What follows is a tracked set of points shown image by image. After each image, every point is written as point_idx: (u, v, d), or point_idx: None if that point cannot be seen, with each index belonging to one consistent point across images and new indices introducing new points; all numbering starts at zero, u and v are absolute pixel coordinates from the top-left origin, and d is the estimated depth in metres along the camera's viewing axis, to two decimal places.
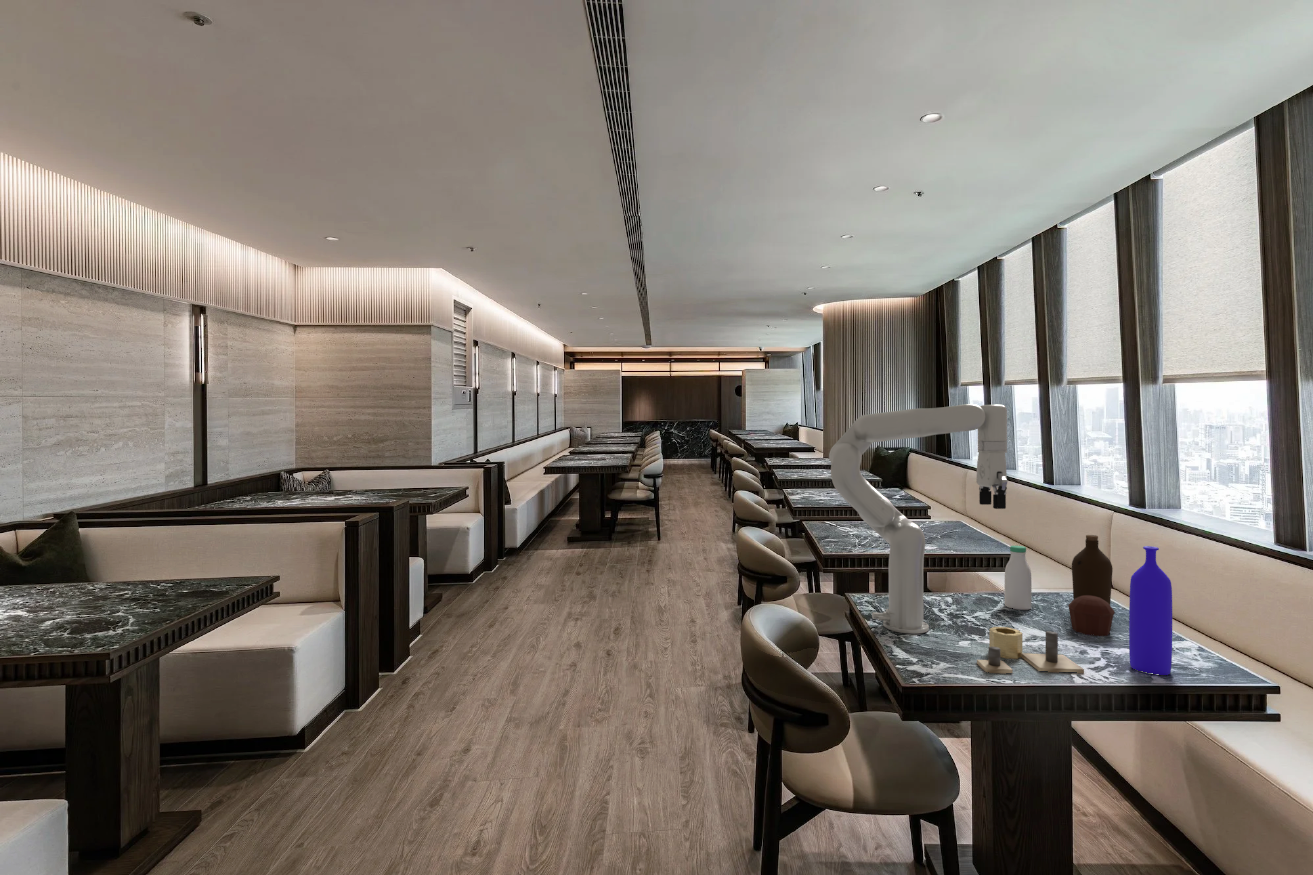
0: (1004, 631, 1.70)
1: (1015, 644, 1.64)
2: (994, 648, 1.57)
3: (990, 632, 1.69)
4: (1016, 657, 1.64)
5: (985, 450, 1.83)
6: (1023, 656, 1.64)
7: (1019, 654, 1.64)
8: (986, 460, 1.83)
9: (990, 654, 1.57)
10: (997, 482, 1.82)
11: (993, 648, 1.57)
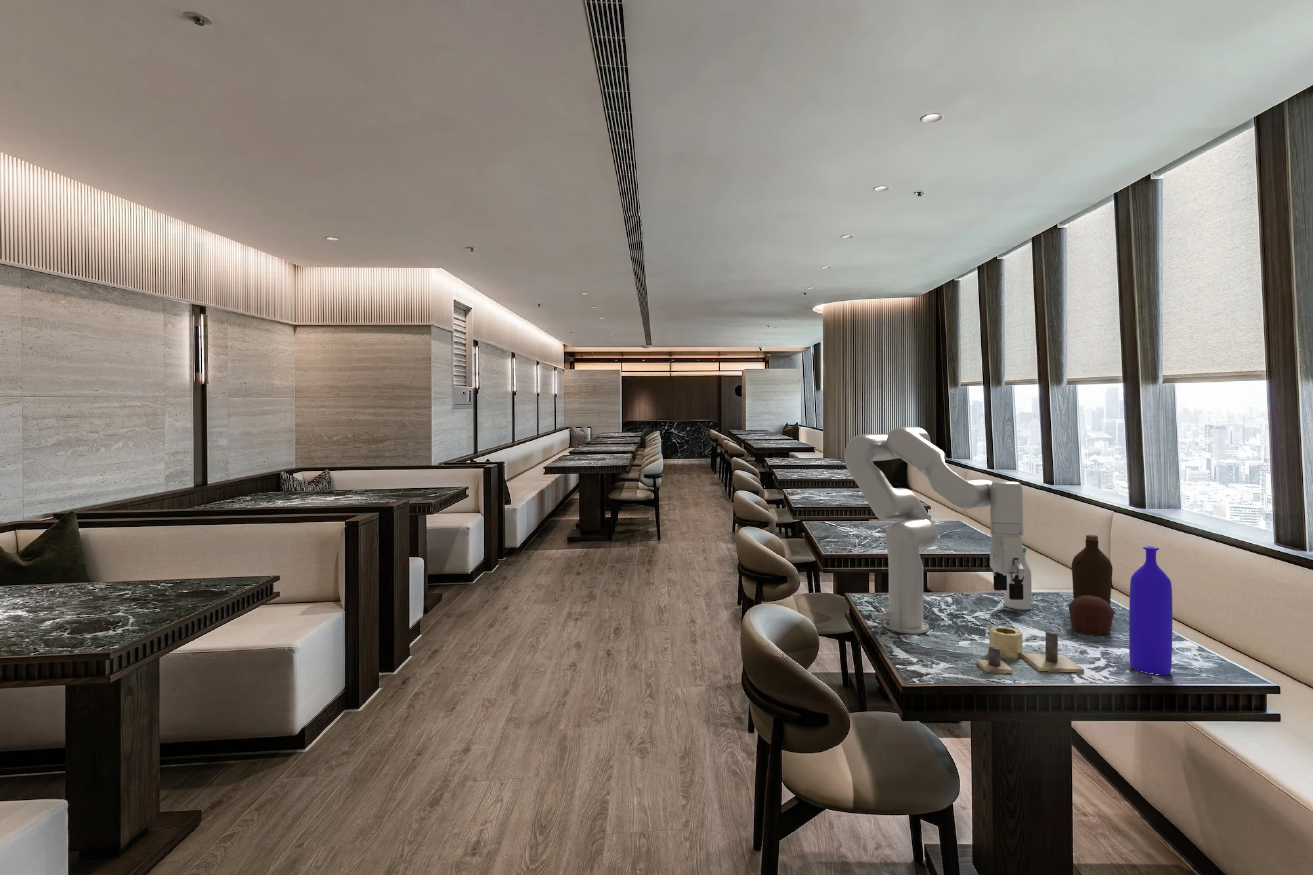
0: (1004, 631, 1.70)
1: (1015, 644, 1.64)
2: (994, 648, 1.57)
3: (990, 632, 1.69)
4: (1016, 657, 1.64)
5: (998, 533, 1.65)
6: (1023, 656, 1.64)
7: (1019, 654, 1.64)
8: (1000, 544, 1.64)
9: (990, 654, 1.57)
10: (1013, 569, 1.63)
11: (993, 648, 1.57)
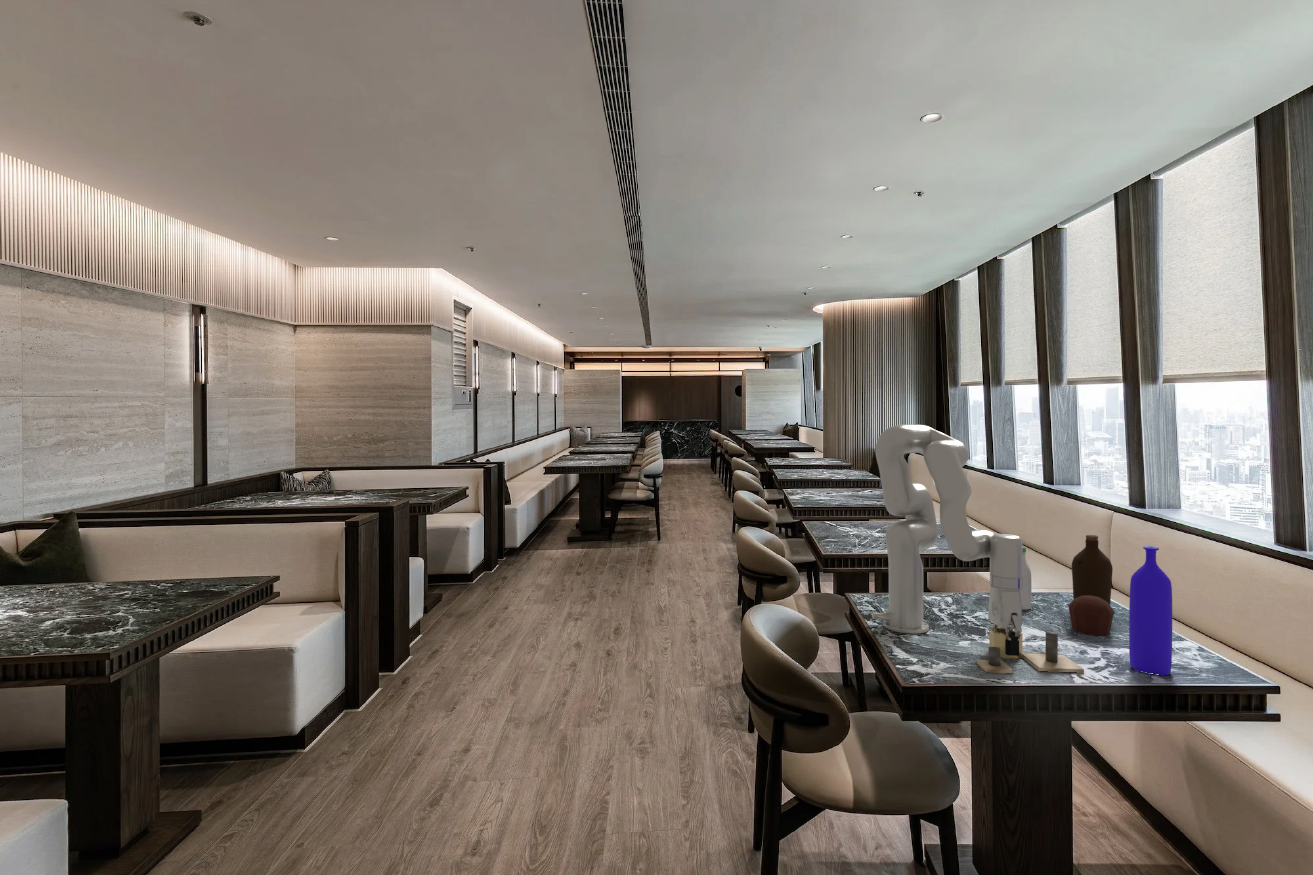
0: (1004, 631, 1.70)
1: None
2: (994, 648, 1.57)
3: (990, 632, 1.69)
4: (1016, 657, 1.64)
5: (998, 587, 1.65)
6: (1023, 656, 1.64)
7: (1019, 654, 1.64)
8: (999, 598, 1.65)
9: (990, 654, 1.57)
10: (1011, 623, 1.64)
11: (993, 648, 1.57)
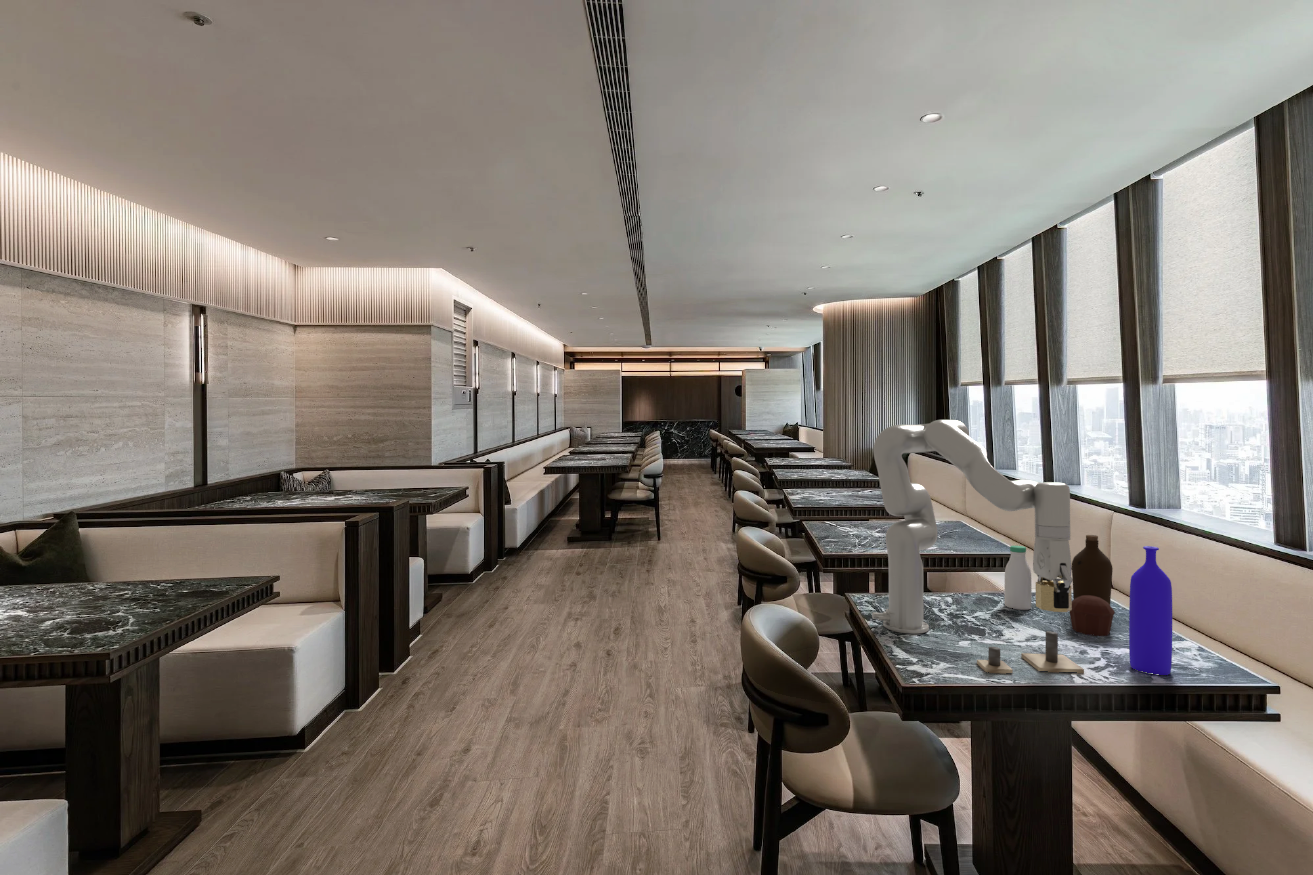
0: (1051, 585, 1.61)
1: None
2: (994, 648, 1.57)
3: (1036, 585, 1.60)
4: (1065, 610, 1.55)
5: (1044, 537, 1.57)
6: (1023, 656, 1.64)
7: None
8: (1046, 548, 1.57)
9: (990, 654, 1.57)
10: (1060, 574, 1.56)
11: (993, 648, 1.57)
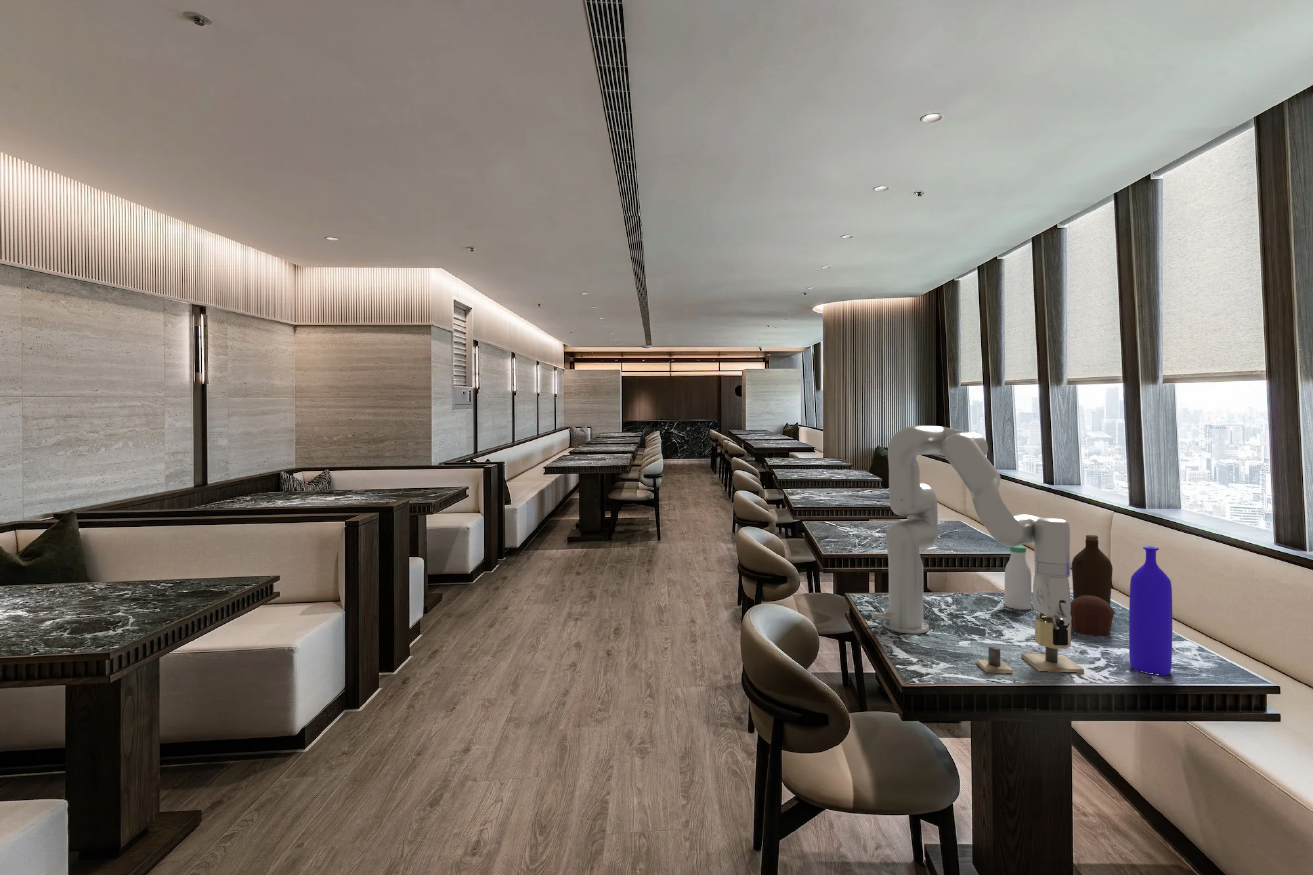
0: (1050, 620, 1.61)
1: None
2: (994, 648, 1.57)
3: (1036, 621, 1.60)
4: (1065, 647, 1.56)
5: (1044, 573, 1.57)
6: (1023, 656, 1.64)
7: (1068, 644, 1.56)
8: (1046, 585, 1.57)
9: (990, 654, 1.57)
10: (1059, 611, 1.56)
11: (993, 648, 1.57)
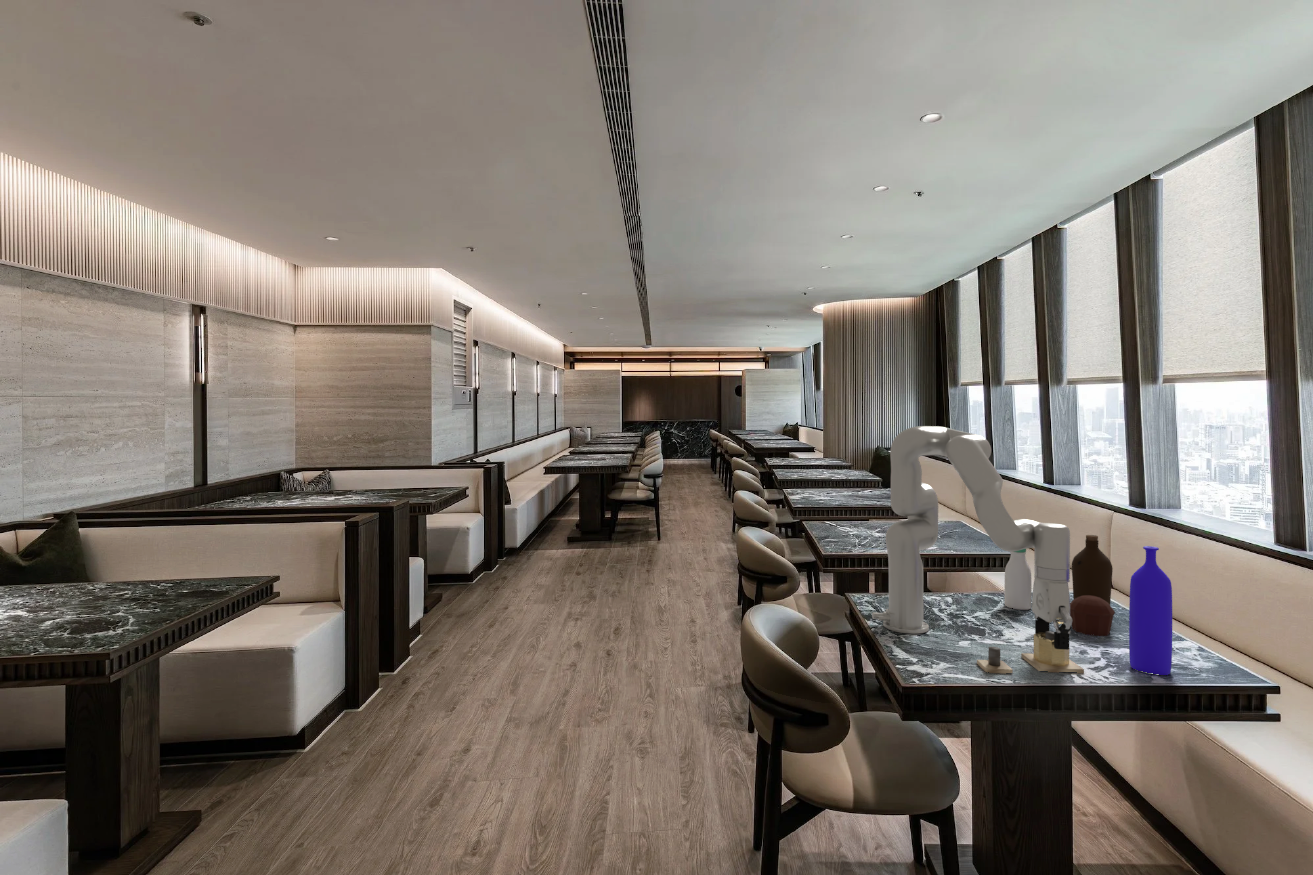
0: None
1: (1062, 651, 1.56)
2: (994, 648, 1.57)
3: (1034, 638, 1.61)
4: (1063, 664, 1.56)
5: (1044, 579, 1.57)
6: (1023, 656, 1.64)
7: (1066, 661, 1.57)
8: (1045, 590, 1.57)
9: (990, 654, 1.57)
10: (1058, 617, 1.56)
11: (993, 648, 1.57)
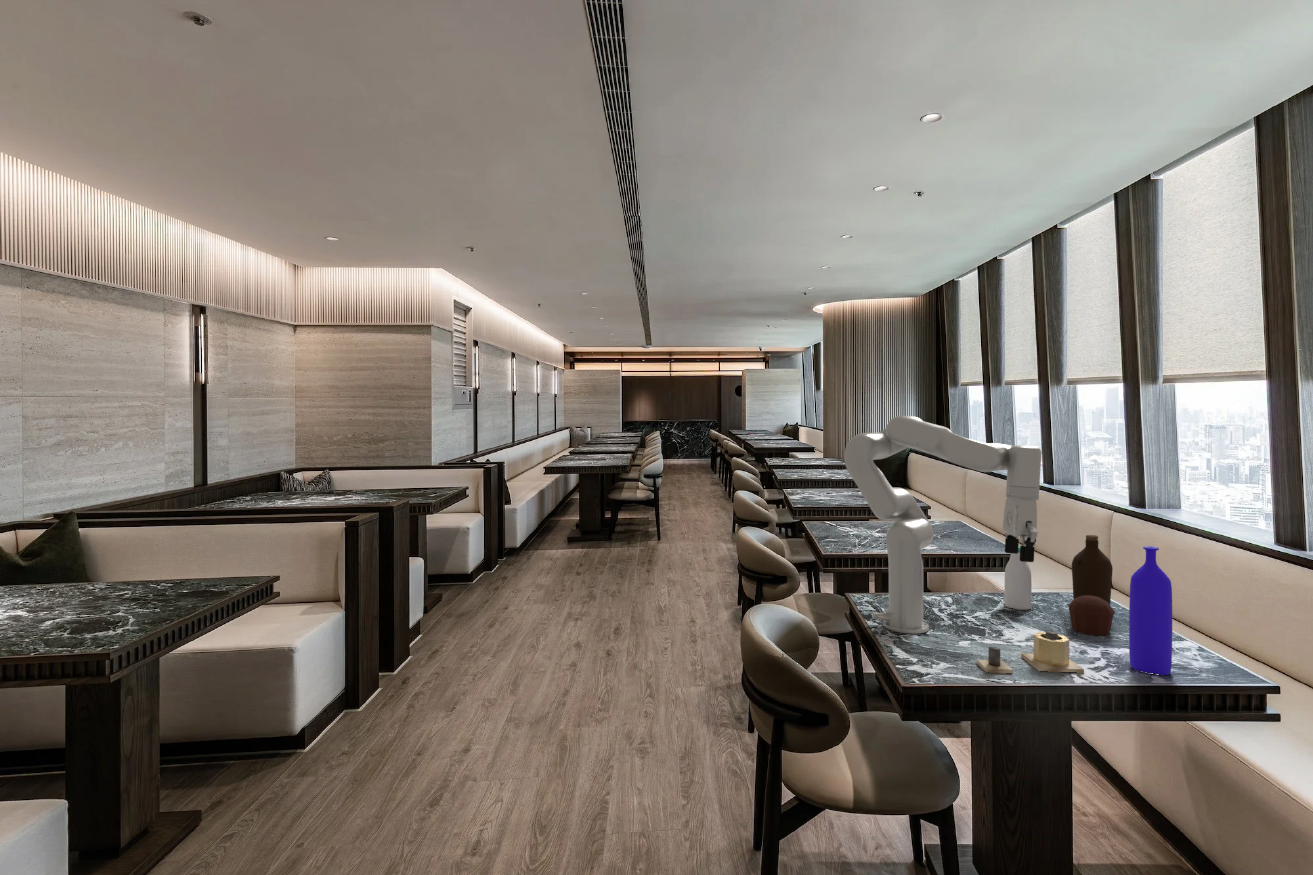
0: None
1: (1062, 651, 1.56)
2: (994, 648, 1.57)
3: (1034, 638, 1.61)
4: (1063, 664, 1.56)
5: (1014, 496, 1.66)
6: (1023, 656, 1.64)
7: (1066, 661, 1.57)
8: (1015, 507, 1.66)
9: (990, 654, 1.57)
10: (1026, 532, 1.65)
11: (993, 648, 1.57)
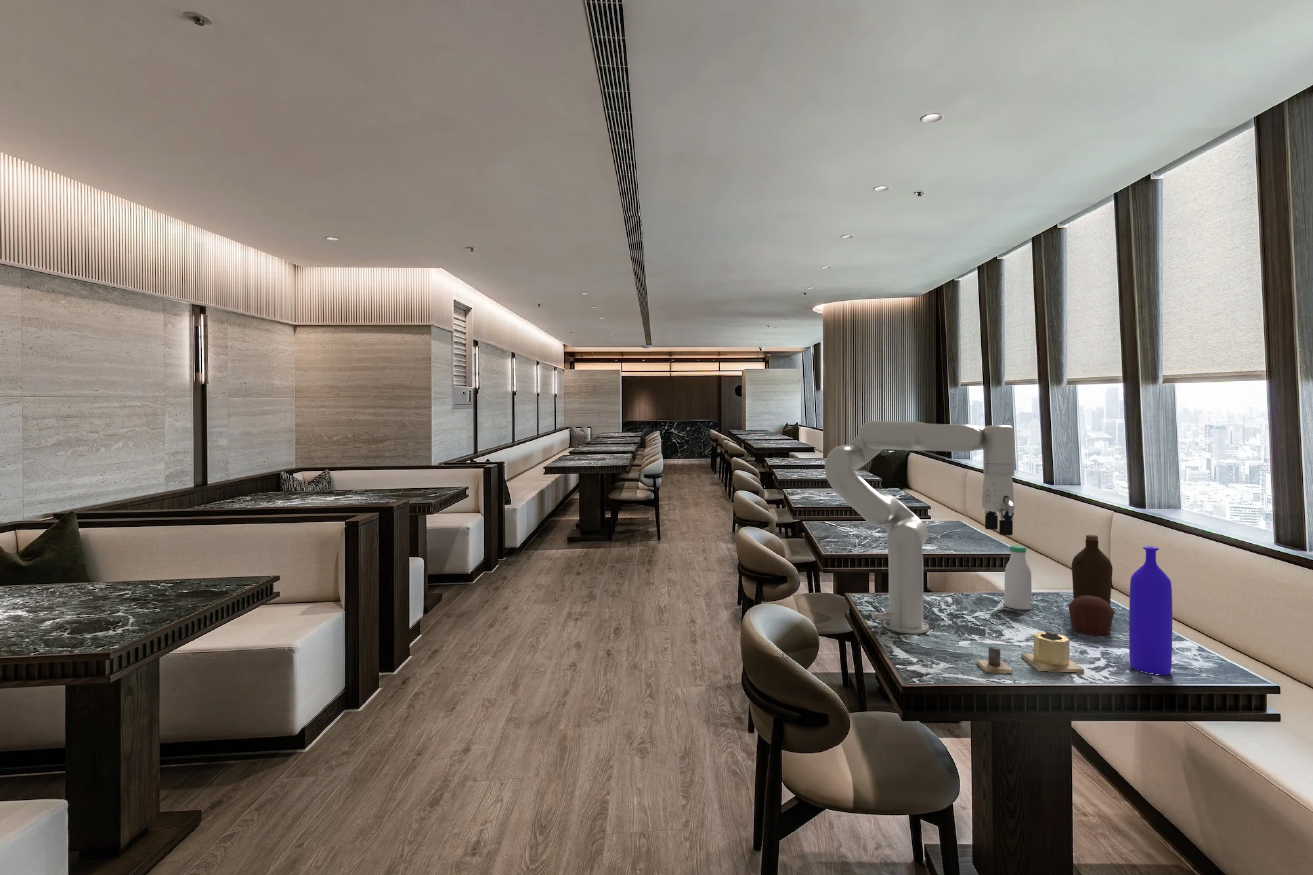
0: None
1: (1062, 651, 1.56)
2: (994, 648, 1.57)
3: (1034, 638, 1.61)
4: (1063, 664, 1.56)
5: (991, 473, 1.74)
6: (1023, 656, 1.64)
7: (1066, 661, 1.57)
8: (992, 484, 1.74)
9: (990, 654, 1.57)
10: (1004, 507, 1.73)
11: (993, 648, 1.57)
